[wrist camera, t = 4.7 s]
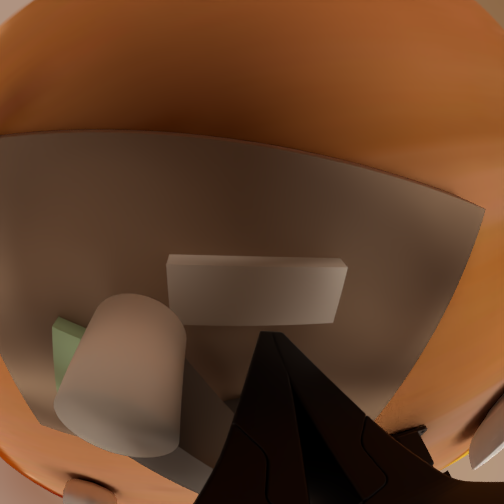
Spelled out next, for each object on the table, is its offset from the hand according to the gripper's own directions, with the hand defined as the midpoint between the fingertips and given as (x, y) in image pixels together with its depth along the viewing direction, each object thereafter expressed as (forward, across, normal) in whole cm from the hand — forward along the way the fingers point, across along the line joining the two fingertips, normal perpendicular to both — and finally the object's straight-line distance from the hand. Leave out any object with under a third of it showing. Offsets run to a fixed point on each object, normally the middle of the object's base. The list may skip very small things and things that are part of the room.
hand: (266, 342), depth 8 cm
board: (+4, +2, +3) cm, 5 cm away
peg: (+1, +1, +3) cm, 4 cm away
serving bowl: (+5, -42, +18) cm, 46 cm away
